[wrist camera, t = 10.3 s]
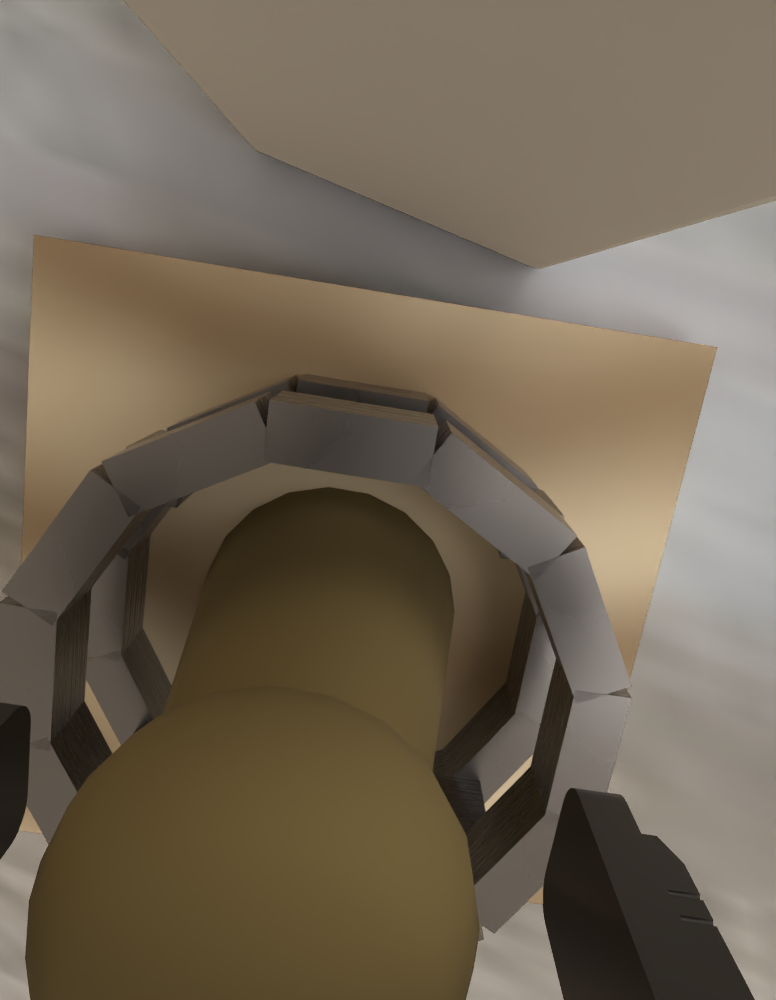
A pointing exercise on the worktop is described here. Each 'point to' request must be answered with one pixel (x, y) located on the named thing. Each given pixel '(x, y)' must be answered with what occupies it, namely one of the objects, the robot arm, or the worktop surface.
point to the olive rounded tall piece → (277, 787)
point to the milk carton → (501, 107)
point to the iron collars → (357, 452)
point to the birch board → (372, 360)
